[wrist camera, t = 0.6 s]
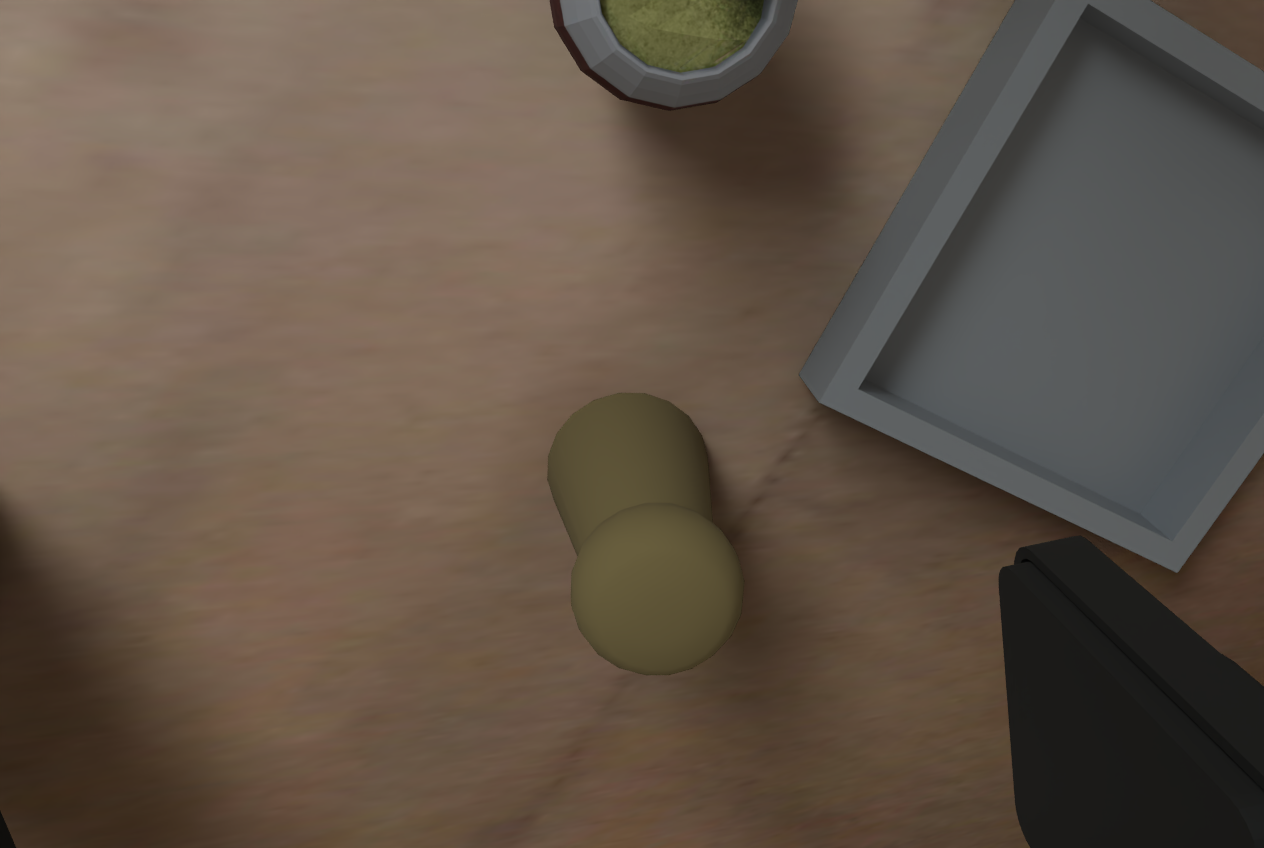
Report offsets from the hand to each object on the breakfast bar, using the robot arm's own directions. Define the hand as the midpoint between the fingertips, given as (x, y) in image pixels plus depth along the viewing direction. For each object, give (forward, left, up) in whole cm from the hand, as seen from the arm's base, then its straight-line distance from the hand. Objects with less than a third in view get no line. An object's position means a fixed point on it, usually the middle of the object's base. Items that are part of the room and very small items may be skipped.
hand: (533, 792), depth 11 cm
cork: (+7, +8, -31) cm, 33 cm away
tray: (-7, +20, -31) cm, 38 cm away
